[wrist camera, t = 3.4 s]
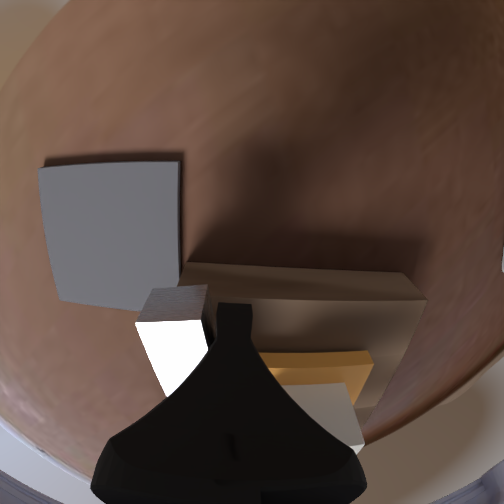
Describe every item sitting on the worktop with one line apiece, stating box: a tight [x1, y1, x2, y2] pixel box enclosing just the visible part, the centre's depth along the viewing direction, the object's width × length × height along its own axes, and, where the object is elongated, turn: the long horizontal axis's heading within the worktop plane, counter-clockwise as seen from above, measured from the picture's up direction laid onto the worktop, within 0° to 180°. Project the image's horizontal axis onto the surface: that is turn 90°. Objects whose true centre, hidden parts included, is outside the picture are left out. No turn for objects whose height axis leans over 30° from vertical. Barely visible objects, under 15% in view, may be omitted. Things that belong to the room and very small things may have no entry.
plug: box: [259, 350, 374, 455], centre depth 13 cm, size 6×6×8 cm
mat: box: [38, 161, 181, 311], centre depth 13 cm, size 8×8×1 cm
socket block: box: [177, 262, 428, 430], centre depth 16 cm, size 12×12×3 cm
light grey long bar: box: [136, 284, 216, 397], centre depth 12 cm, size 13×2×3 cm, turn 5°
